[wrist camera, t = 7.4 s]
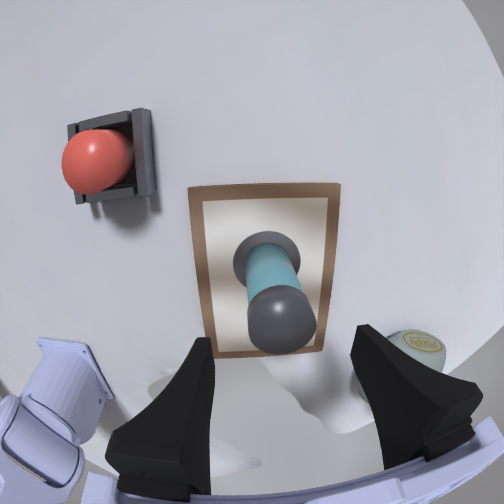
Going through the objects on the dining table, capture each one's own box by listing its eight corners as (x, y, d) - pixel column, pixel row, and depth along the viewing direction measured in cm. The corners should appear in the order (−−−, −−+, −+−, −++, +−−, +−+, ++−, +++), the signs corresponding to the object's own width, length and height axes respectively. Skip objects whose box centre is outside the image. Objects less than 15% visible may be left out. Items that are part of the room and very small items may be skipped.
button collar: (156, 189, 20) (148, 195, 18) (88, 198, 19) (76, 204, 17) (150, 110, 17) (141, 107, 15) (80, 124, 17) (67, 125, 15)
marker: (289, 282, 22) (313, 351, 15) (244, 284, 22) (249, 356, 15) (291, 240, 21) (320, 298, 14) (242, 242, 21) (246, 303, 13)
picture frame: (320, 346, 26) (322, 352, 26) (209, 354, 26) (209, 360, 25) (337, 183, 20) (341, 185, 19) (189, 187, 20) (187, 189, 19)
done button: (136, 181, 18) (118, 190, 15) (88, 188, 18) (66, 198, 15) (131, 124, 16) (112, 124, 13) (82, 135, 16) (59, 137, 13)
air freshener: (339, 376, 29) (365, 447, 20) (374, 320, 26) (419, 393, 17) (406, 377, 31) (436, 432, 21) (439, 328, 27) (482, 383, 18)
